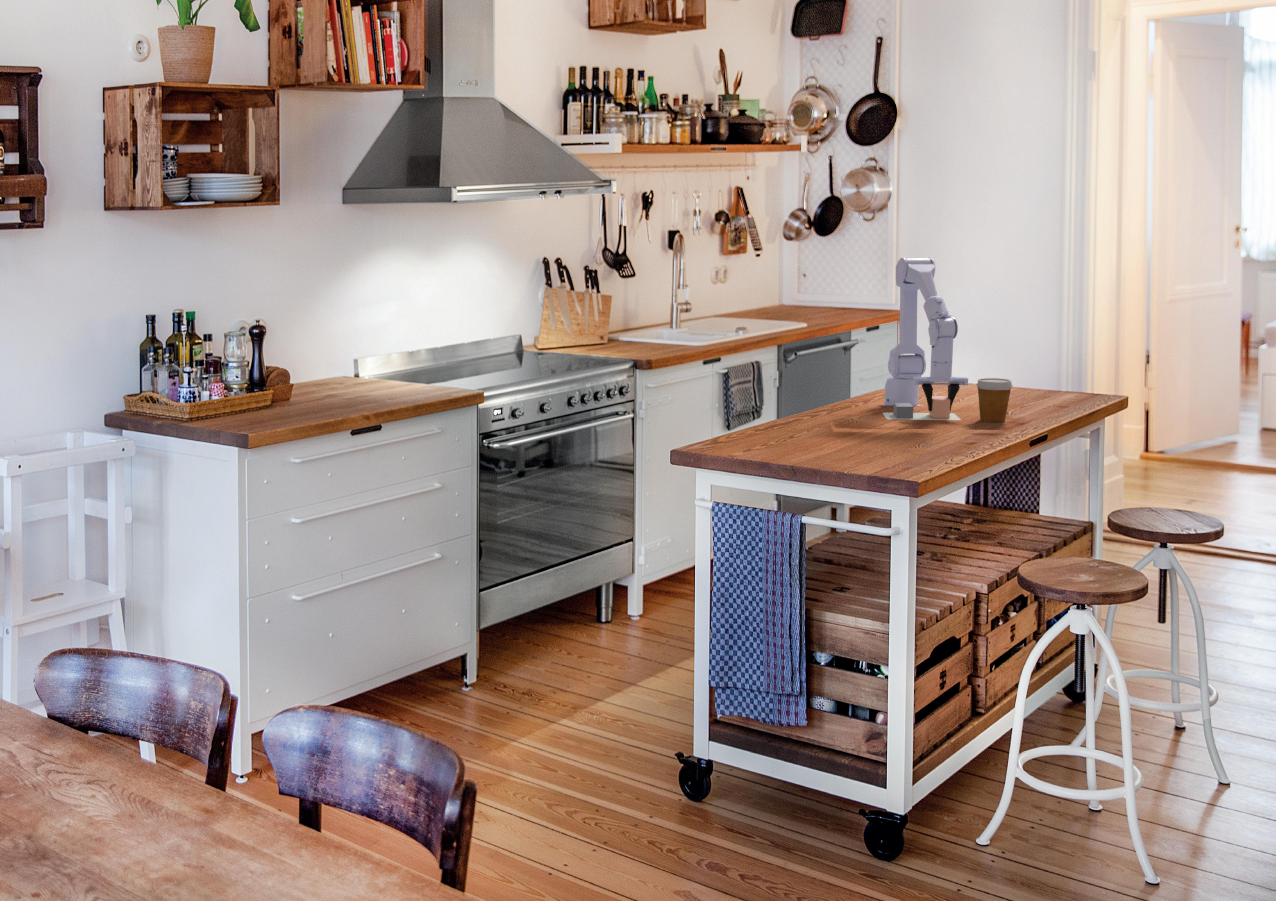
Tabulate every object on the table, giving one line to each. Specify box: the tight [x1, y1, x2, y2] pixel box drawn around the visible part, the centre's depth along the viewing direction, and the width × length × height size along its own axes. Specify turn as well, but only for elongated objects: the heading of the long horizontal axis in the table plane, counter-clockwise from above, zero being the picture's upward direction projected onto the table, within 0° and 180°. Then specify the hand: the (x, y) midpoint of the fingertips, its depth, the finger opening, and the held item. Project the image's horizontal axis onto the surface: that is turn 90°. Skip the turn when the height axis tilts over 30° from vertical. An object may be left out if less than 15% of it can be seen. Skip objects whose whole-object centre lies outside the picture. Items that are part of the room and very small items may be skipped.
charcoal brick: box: [892, 403, 914, 418], centre depth 348 cm, size 4×7×3 cm, turn 175°
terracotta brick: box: [928, 395, 951, 418], centre depth 347 cm, size 4×7×5 cm, turn 175°
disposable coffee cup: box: [975, 377, 1013, 423], centre depth 340 cm, size 10×10×12 cm
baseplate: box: [882, 412, 962, 421], centre depth 348 cm, size 20×12×1 cm, turn 85°
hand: (939, 410), depth 347 cm, fingers closed on terracotta brick, 4 cm apart
